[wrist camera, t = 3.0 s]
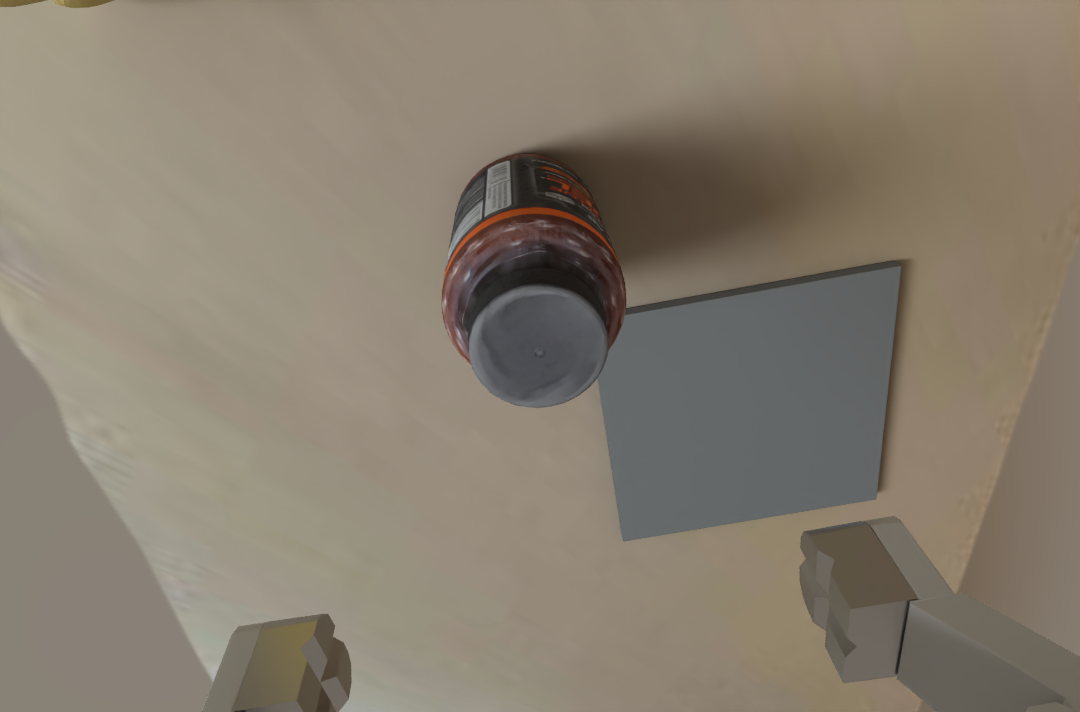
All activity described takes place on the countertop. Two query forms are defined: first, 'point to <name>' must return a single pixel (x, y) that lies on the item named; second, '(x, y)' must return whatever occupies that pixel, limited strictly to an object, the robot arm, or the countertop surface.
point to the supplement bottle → (532, 282)
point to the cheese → (64, 0)
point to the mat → (750, 401)
